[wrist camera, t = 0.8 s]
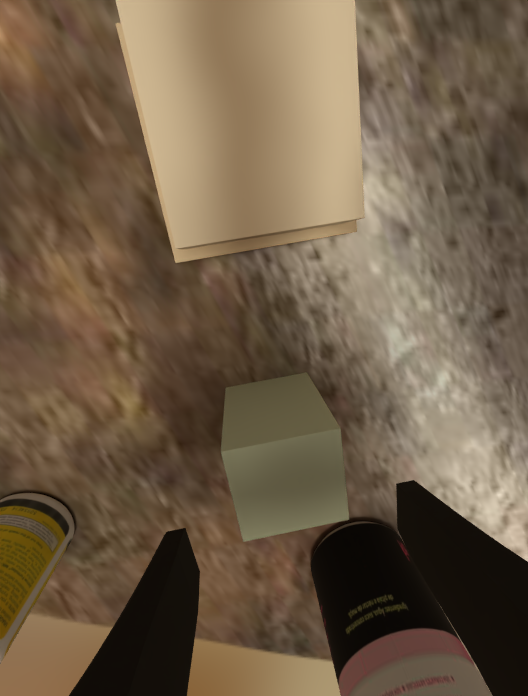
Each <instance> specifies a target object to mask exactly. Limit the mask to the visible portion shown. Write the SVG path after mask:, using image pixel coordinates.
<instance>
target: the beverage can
mask: <svg viewBox="0 0 528 696" xmlns="http://www.w3.org/2000/svg"><path fill="white" fill-rule="evenodd" d="M311 572H312V576H313V580H314V584H315V589H316V593H317V597H318V601H319V605H320V610H321V614H322V618H323V622H324V626H325V631H326V635H327V639H328V643H329V647H330V652H331V656H332V660H333V664H334V668H335V672H336V677H337V681H338V685H339V689H340V694H341V696H492V694H491V693H490V691H489V689H488V688H487V686H486V684H485V682H484V681H483V679H482V677H481V676H480V674H479V672H478V670H477V669H476V667H475V665H474V663H473V662H472V660H471V658H470V657H469V655H468V653H467V651H466V650H465V648H464V646H463V645H462V643H461V641H460V639H459V638H458V636H457V634H456V632H455V631H454V629H453V627H452V626H451V624H450V622H449V620H448V619H447V617H446V615H445V614H444V612H443V610H442V608H441V607H440V605H439V603H438V601H437V600H436V598H435V596H434V595H433V593H432V592H431V590H430V588H429V587H428V585H427V583H426V582H425V580H424V578H423V577H422V575H421V573H420V572H419V570H418V568H417V567H416V565H415V563H414V562H413V560H412V558H411V556H410V554H409V552H408V550H407V548H406V546H405V545H404V543H403V541H402V539H401V538H400V536H399V535H398V534H397V533H396V532H395V531H394V530H392V529H391V528H389V527H387V526H384V525H381V524H377V523H373V522H363V521H362V522H353V523H349V524H346V525H343V526H341V527H338V528H337V529H335V530H333V531H332V532H330V533H329V534H328V535H327V536H326V537H325V538H324V539H323V540H322V541H321V543H320V544H319V545H318V547H317V549H316V550H315V552H314V554H313V557H312V560H311Z"/></svg>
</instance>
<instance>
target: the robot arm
mask: <svg viewBox="0 0 528 696" xmlns="http://www.w3.org/2000/svg"><path fill="white" fill-rule="evenodd" d="M396 489H397V526H398V531H399V533H400V535H401V537H402V539H403V541H404V543H405V546H406V548H407V550H408V552H409V554H410V556H411V558H412V560H413V562H414V563H415V565H416V567H417V568H418V570H419V572H420V573H421V575H422V577H423V578H424V580H425V582H426V583H427V585H428V587H429V588H430V590H431V592H432V593H433V595H434V596H435V598H436V600H437V601H438V603H439V604H440V606H441V608H442V609H443V611H444V613H445V614H446V616H447V617H448V619H449V621H450V622H451V624H452V626H453V627H454V629H455V630H456V632H457V634H458V635H459V637H460V639H461V640H462V642H463V643H464V645H465V647H466V648H467V650H468V652H469V653H470V655H471V657H472V659H473V660H474V662H475V664H476V666H477V667H478V669H479V671H480V673H481V675H482V677H483V678H484V680H485V682H486V684H487V686H488V688H489V690H490V692H491V694H492V695H493V696H528V562H527V561H526V560H524V559H523V558H521V557H520V556H518V555H517V554H515V553H514V552H512V551H511V550H509V549H508V548H506V547H505V546H503V545H502V544H500V543H499V542H497V541H496V540H494V539H493V538H491V537H490V536H489V535H487V534H486V533H484V532H483V531H482V530H480V529H479V528H477V527H476V526H475V525H473V524H472V523H470V522H469V521H468V520H466V519H465V518H463V517H462V516H461V515H459V514H458V513H457V512H455V511H454V510H453V509H451V508H450V507H449V506H447V505H446V504H445V503H443V502H442V501H441V500H439V499H438V498H437V497H435V496H434V495H433V494H431V493H430V492H429V491H428V490H426V489H425V488H424V487H422V486H421V485H420V484H418V483H417V482H416V481H414V480H412V481H408V482H403V483H398V484H396ZM199 578H200V571H199V568H198V565H197V562H196V559H195V556H194V553H193V550H192V547H191V544H190V541H189V538H188V535H187V532H186V529H185V528H183V529H178V530H173V531H168V532H166V534H165V535H164V537H163V539H162V541H161V543H160V545H159V547H158V548H157V550H156V552H155V554H154V556H153V558H152V560H151V562H150V564H149V565H148V567H147V569H146V571H145V573H144V575H143V576H142V578H141V580H140V582H139V584H138V585H137V587H136V589H135V591H134V592H133V594H132V596H131V598H130V599H129V601H128V603H127V605H126V607H125V608H124V610H123V612H122V613H121V615H120V617H119V618H118V620H117V622H116V623H115V625H114V627H113V628H112V630H111V631H110V633H109V635H108V636H107V638H106V640H105V641H104V643H103V644H102V646H101V648H100V649H99V651H98V653H97V654H96V656H95V657H94V659H93V660H92V662H91V664H90V665H89V666H88V668H87V670H86V671H85V673H84V674H83V676H82V677H81V679H80V680H79V682H78V683H77V685H76V686H75V687H74V689H73V690H72V692H71V693H70V695H69V696H187V689H188V682H189V675H190V667H191V660H192V653H193V646H194V638H195V631H196V623H197V615H198V602H199Z"/></svg>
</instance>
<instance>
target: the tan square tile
mask: <svg viewBox="0 0 528 696" xmlns="http://www.w3.org/2000/svg"><path fill="white" fill-rule="evenodd" d="M116 4H117V8H118V12H119V16H120V20H121V24H122V29H123V33H124V37H125V41H126V45H127V49H128V54H129V58H130V62H131V66H132V70H133V74H134V78H135V83H136V87H137V91H138V95H139V99H140V103H141V107H142V112H143V116H144V120H145V124H146V128H147V132H148V137H149V141H150V145H151V149H152V153H153V157H154V161H155V166H156V170H157V174H158V178H159V182H160V186H161V191H162V195H163V199H164V203H165V207H166V211H167V215H168V220H169V224H170V228H171V232H172V236H173V240H174V245H175V249H184V250H185V249H191V248H197V247H203V246H210V245H216V244H222V243H228V242H234V241H240V240H246V239H252V238H258V237H264V236H270V235H276V234H282V233H288V232H294V231H300V230H306V229H312V228H318V227H324V226H330V225H336V224H343V223H347V222H351V221H354V220H358V219H361V218H365V217H364V195H363V173H362V151H361V129H360V107H359V85H358V63H357V41H356V19H355V0H116Z"/></svg>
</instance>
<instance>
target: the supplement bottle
mask: <svg viewBox="0 0 528 696" xmlns="http://www.w3.org/2000/svg"><path fill="white" fill-rule="evenodd" d="M74 530H75V526H74V521H73V518H72V516H71V514H70V512H69V511H68V509H67V508H66V507H65V506H64V505H63V504H61V503H60V502H58V501H57V500H55V499H53V498H51V497H48V496H46V495H42V494H36V493H20V494H14V495H11V496H8V497H5V498H3V499H1V500H0V663H1V662H2V660H3V658H4V656H5V655H6V653H7V652H8V650H9V648H10V646H11V645H12V643H13V641H14V639H15V638H16V636H17V634H18V632H19V630H20V629H21V627H22V625H23V624H24V622H25V620H26V618H27V616H28V615H29V613H30V611H31V610H32V608H33V606H34V605H35V603H36V601H37V599H38V598H39V596H40V594H41V592H42V591H43V589H44V587H45V586H46V584H47V582H48V580H49V579H50V577H51V575H52V573H53V572H54V570H55V568H56V566H57V565H58V563H59V561H60V560H61V558H62V556H63V554H64V552H65V551H66V549H67V547H68V545H69V544H70V542H71V540H72V538H73V535H74Z"/></svg>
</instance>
